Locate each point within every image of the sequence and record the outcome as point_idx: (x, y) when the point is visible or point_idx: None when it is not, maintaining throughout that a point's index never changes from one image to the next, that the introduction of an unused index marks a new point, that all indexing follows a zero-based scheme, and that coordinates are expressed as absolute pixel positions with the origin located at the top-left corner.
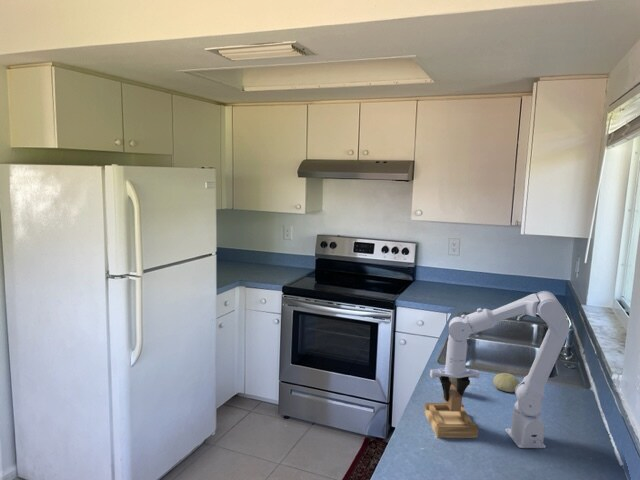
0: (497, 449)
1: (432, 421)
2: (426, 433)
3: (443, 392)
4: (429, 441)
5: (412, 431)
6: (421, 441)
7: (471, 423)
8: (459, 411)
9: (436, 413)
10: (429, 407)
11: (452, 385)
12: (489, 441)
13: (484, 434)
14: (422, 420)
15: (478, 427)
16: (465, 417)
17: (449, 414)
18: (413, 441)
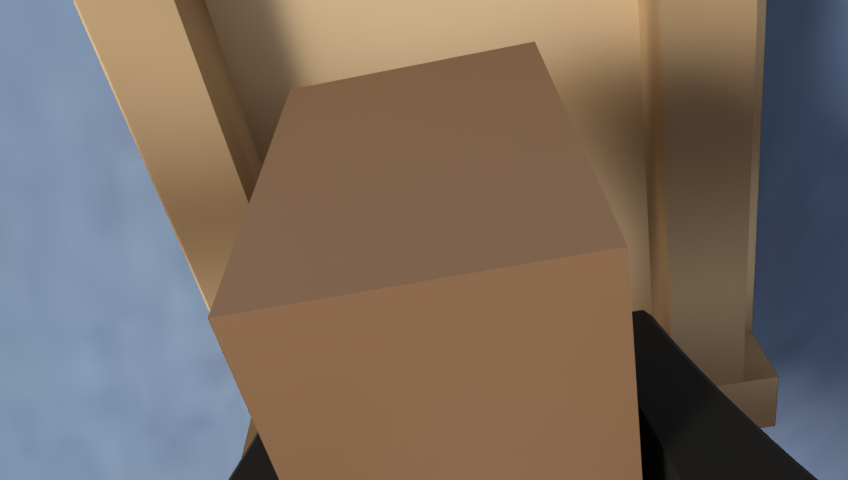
0: (839, 454)
1: (194, 277)
2: (161, 346)
3: (244, 457)
4: (204, 454)
5: (3, 339)
6: (129, 465)
7: (710, 372)
8: (651, 7)
9: (225, 223)
10: (86, 4)
11: (576, 310)
12: (827, 359)
13: (838, 250)
14: (69, 85)
15: (771, 418)
16: (679, 251)
17: (462, 35)
18: (55, 477)
